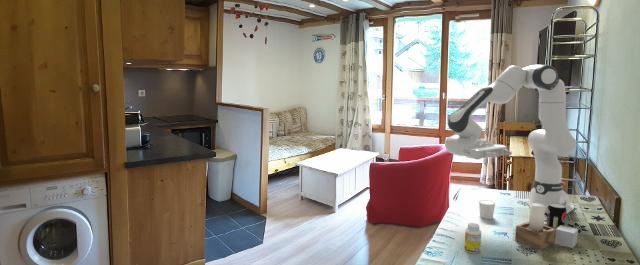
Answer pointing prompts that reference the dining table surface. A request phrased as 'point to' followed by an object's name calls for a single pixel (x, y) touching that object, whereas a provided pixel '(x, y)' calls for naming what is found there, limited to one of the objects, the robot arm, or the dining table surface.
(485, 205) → the shot glass
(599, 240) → the dining table surface
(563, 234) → the grey block
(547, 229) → the brown wooden open box
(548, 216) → the beverage can
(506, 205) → the dining table surface
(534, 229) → the white pillar candle
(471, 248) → the supplement bottle
